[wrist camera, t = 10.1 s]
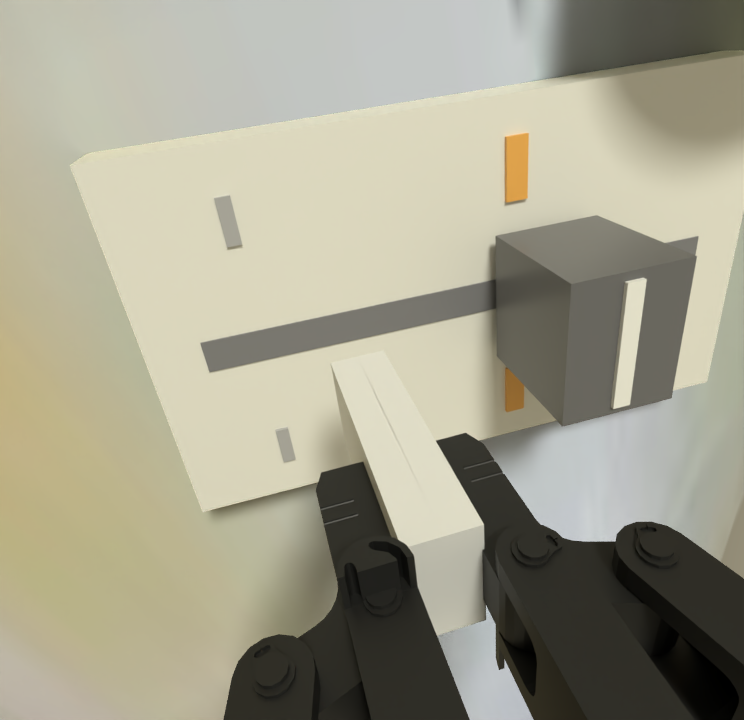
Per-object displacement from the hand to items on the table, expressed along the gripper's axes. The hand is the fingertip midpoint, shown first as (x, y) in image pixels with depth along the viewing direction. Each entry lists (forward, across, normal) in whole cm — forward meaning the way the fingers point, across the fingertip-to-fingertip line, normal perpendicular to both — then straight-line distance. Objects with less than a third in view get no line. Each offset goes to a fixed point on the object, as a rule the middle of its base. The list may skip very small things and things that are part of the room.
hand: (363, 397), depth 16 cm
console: (+8, +5, -1) cm, 10 cm away
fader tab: (+5, +8, -1) cm, 10 cm away
